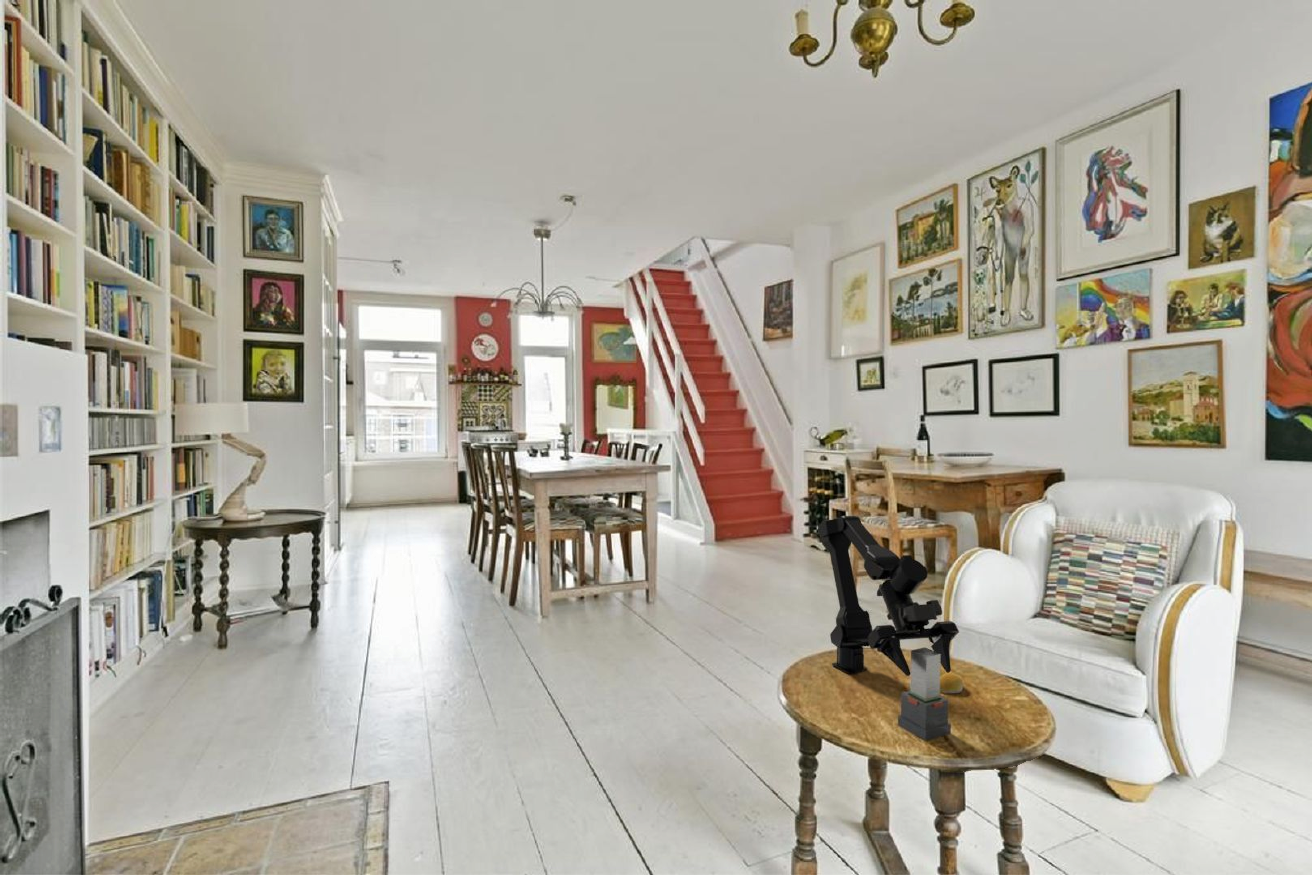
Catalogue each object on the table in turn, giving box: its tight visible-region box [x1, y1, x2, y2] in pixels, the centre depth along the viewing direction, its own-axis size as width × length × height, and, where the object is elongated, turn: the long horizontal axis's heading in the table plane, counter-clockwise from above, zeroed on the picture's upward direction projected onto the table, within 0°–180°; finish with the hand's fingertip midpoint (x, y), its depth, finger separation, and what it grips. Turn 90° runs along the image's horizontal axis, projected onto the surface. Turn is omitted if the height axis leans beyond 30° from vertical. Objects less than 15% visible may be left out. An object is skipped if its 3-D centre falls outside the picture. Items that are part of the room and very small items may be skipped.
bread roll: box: [940, 668, 964, 694], centre depth 154 cm, size 8×9×4 cm
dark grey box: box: [897, 690, 952, 742], centre depth 132 cm, size 7×7×7 cm
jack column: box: [908, 647, 941, 703], centre depth 132 cm, size 4×4×11 cm
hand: (929, 673), depth 131 cm, fingers open, 9 cm apart
